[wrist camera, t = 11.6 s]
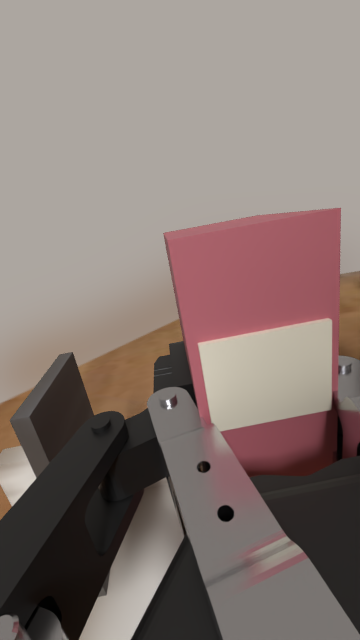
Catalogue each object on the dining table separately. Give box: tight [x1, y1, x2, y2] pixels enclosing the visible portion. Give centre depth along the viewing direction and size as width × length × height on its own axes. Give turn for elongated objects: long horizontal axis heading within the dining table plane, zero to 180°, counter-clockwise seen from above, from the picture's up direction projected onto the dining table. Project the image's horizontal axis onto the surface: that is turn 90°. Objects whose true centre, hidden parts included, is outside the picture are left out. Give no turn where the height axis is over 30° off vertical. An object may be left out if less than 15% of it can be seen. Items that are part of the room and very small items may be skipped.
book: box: [164, 208, 341, 477], centre depth 10 cm, size 4×5×12 cm
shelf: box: [0, 352, 183, 640], centre depth 10 cm, size 26×9×16 cm, turn 94°
